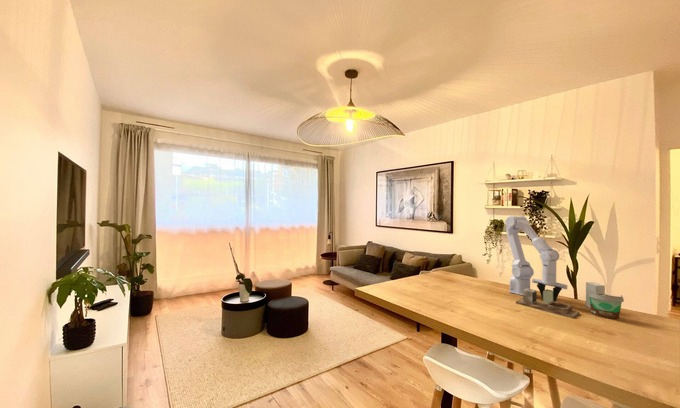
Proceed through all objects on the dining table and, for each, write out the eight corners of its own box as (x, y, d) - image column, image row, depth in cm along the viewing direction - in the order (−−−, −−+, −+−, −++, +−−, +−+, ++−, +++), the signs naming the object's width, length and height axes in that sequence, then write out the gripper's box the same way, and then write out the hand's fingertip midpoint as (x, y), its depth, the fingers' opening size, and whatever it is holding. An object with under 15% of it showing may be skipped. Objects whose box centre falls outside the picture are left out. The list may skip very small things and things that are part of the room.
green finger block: (542, 302, 143) (542, 290, 143) (545, 300, 146) (545, 289, 146) (552, 304, 139) (552, 292, 139) (555, 302, 142) (556, 291, 142)
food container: (591, 316, 124) (591, 294, 124) (587, 312, 130) (587, 291, 130) (629, 322, 118) (629, 299, 119) (622, 317, 124) (623, 295, 124)
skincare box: (605, 310, 132) (605, 285, 132) (596, 310, 132) (596, 285, 132) (593, 306, 138) (594, 282, 138) (585, 306, 138) (585, 282, 138)
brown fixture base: (515, 303, 141) (515, 289, 141) (523, 299, 146) (523, 286, 146) (573, 318, 122) (573, 302, 122) (579, 313, 128) (579, 298, 128)
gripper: (569, 275, 139) (569, 302, 139) (535, 269, 151) (535, 294, 151) (564, 277, 135) (564, 305, 135) (530, 271, 146) (530, 297, 146)
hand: (549, 299), depth 142 cm, fingers closed on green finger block, 4 cm apart
